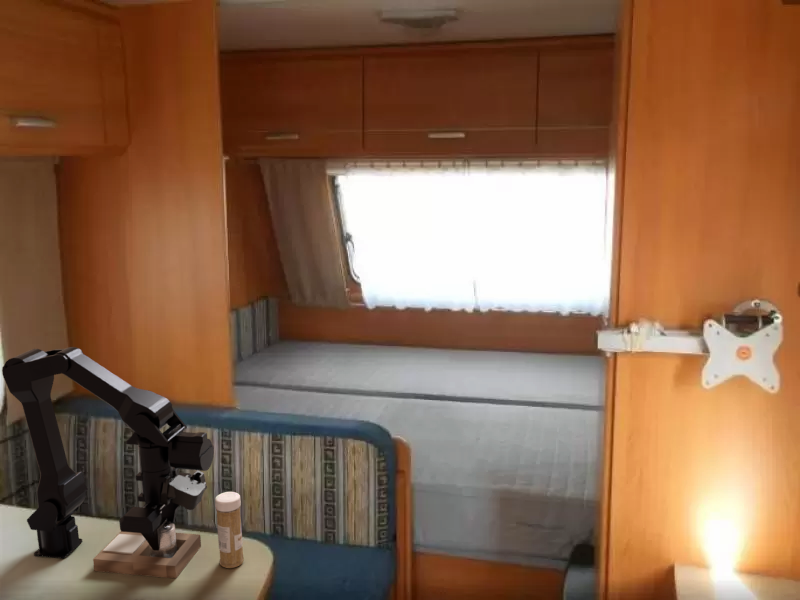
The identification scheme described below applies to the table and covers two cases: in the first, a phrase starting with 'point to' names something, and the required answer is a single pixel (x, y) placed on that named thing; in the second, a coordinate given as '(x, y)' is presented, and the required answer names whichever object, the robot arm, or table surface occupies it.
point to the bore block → (145, 556)
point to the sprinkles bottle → (229, 529)
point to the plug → (166, 542)
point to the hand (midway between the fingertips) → (162, 542)
